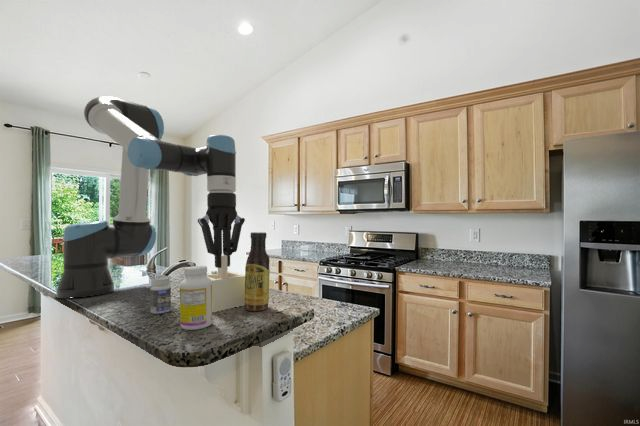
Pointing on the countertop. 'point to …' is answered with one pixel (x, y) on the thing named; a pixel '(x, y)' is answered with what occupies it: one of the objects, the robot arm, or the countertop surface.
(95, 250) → the robot arm
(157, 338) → the countertop surface
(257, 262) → the sauce bottle
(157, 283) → the pill bottle
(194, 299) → the supplement bottle
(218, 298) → the cream open-top box
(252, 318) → the countertop surface
